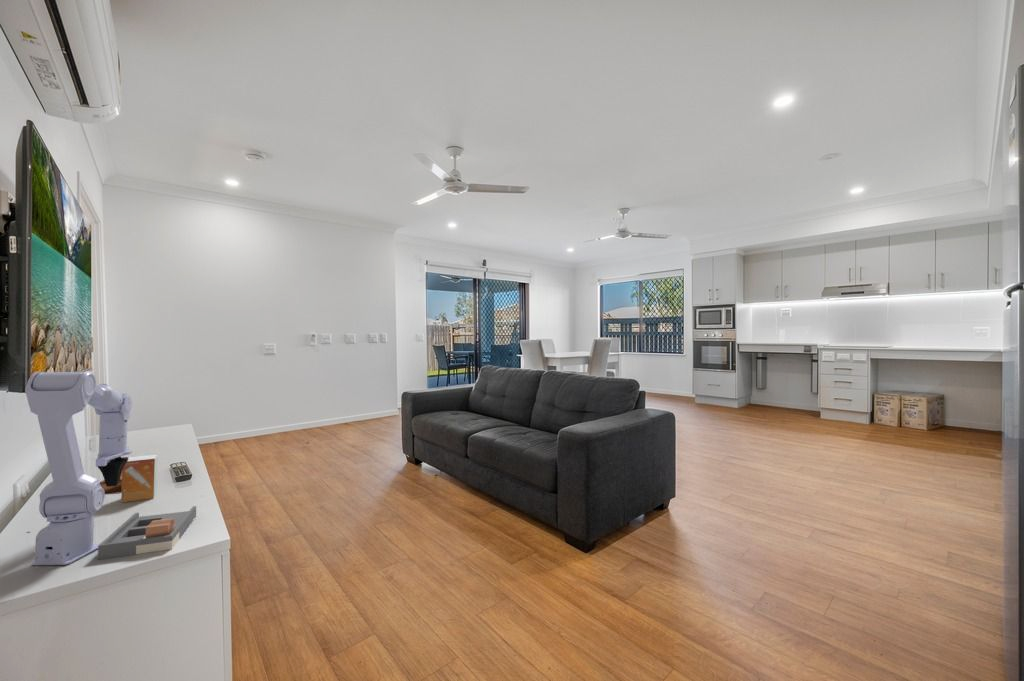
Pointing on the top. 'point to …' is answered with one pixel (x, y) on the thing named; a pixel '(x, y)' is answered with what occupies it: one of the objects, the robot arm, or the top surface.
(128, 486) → the small box
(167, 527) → the block
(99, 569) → the top surface
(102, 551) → the grey divided tray
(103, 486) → the sunglasses case
